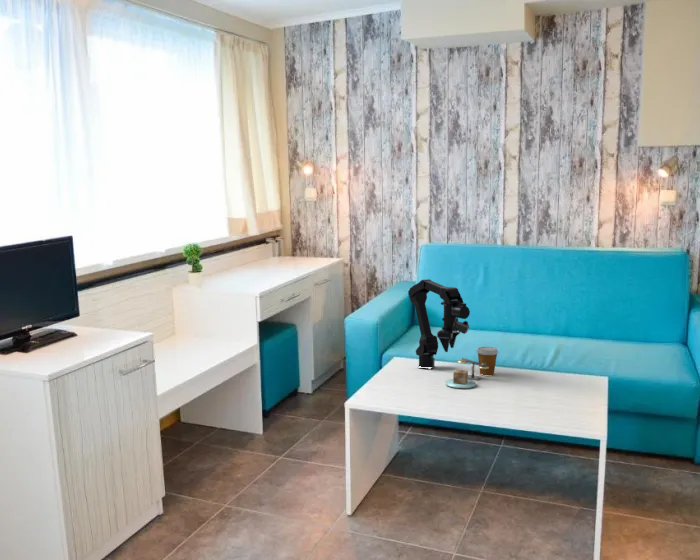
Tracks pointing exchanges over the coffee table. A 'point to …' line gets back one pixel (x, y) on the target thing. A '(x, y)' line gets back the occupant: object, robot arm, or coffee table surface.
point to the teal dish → (467, 385)
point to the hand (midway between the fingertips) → (449, 349)
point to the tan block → (460, 377)
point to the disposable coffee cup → (487, 359)
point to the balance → (472, 376)
